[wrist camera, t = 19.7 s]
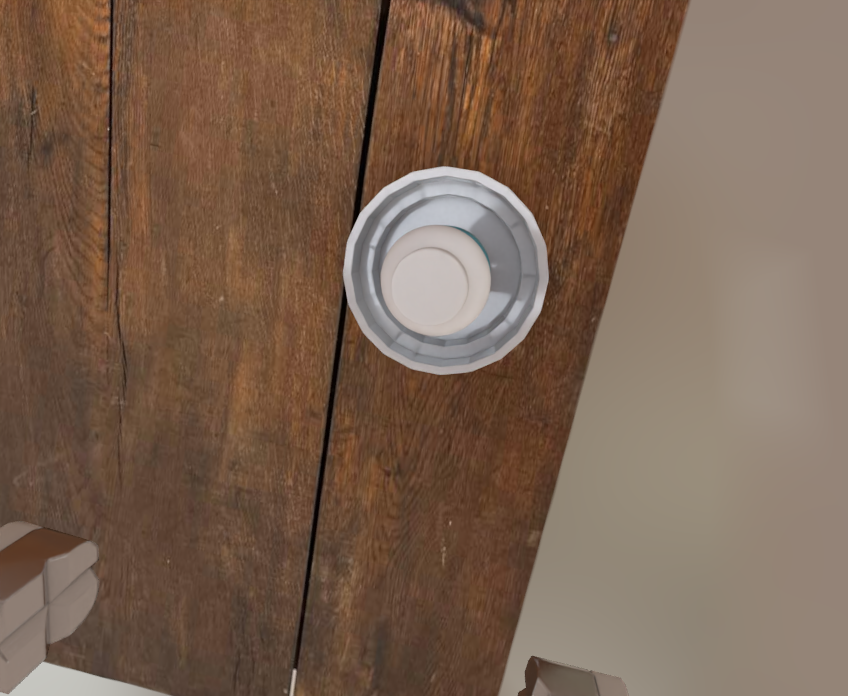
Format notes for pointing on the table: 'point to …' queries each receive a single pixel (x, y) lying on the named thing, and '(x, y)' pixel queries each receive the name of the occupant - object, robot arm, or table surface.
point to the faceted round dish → (499, 234)
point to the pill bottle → (436, 279)
